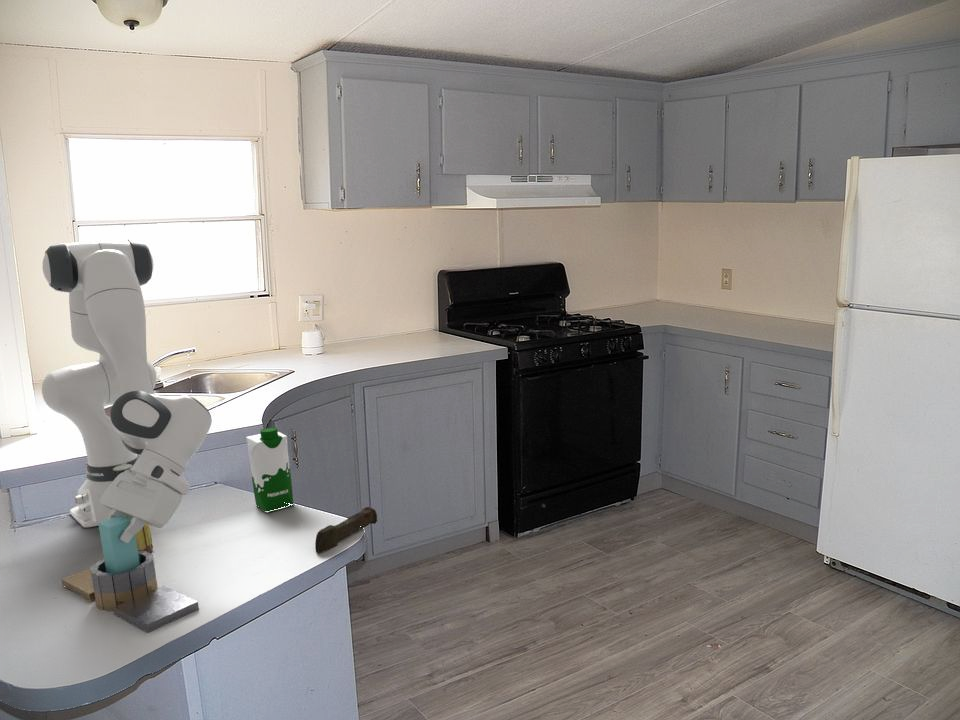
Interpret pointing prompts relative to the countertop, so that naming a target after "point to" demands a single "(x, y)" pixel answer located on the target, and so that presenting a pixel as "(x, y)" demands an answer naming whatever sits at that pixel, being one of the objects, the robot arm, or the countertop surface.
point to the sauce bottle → (141, 536)
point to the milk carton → (270, 469)
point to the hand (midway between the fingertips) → (114, 537)
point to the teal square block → (118, 545)
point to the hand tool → (344, 529)
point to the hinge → (132, 594)
